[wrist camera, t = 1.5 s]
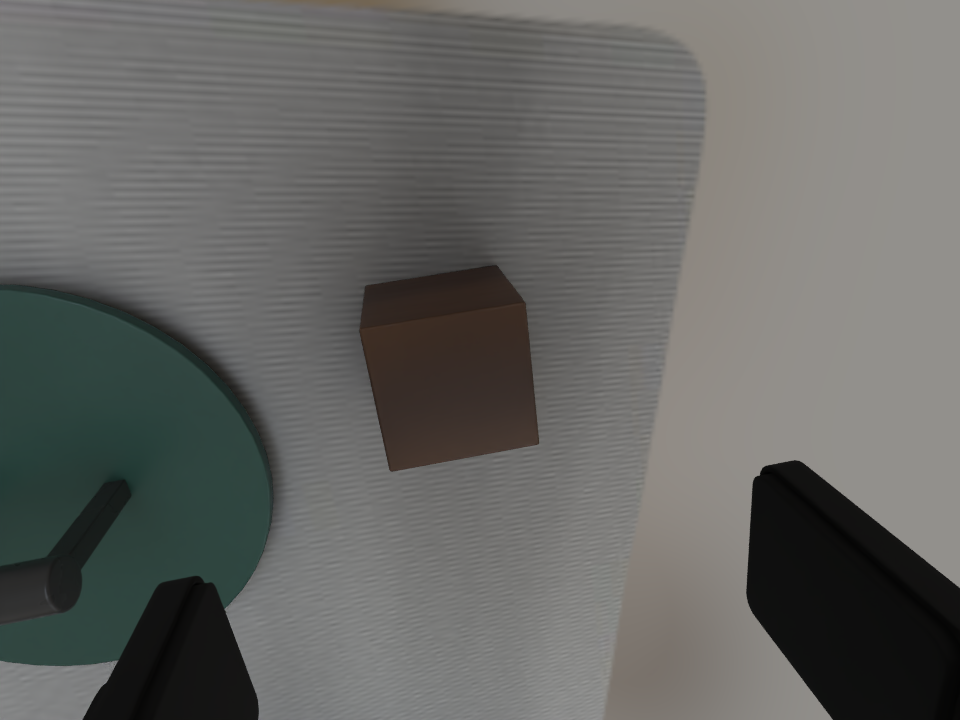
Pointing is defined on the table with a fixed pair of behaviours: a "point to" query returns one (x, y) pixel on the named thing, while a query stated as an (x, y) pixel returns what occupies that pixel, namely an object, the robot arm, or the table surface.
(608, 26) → the table surface
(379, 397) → the block
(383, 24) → the table surface
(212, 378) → the lid
